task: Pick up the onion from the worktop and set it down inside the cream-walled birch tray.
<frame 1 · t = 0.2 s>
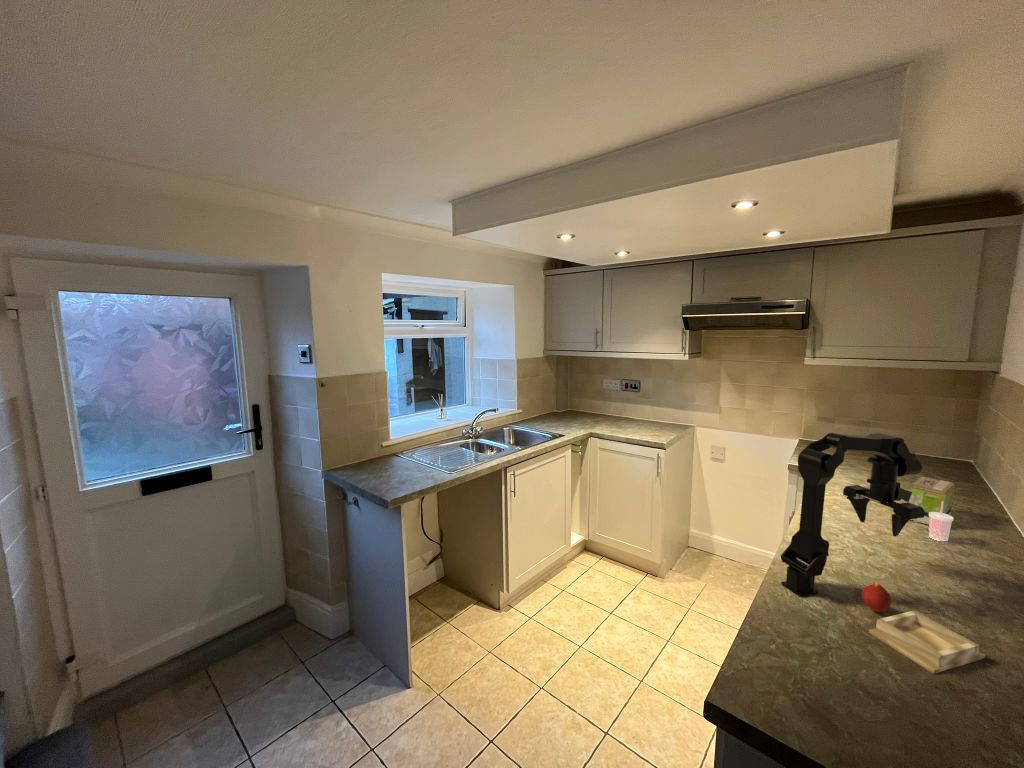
hand: (878, 528, 126), 14 cm above the table, fingers open, 9 cm apart
tea box: (928, 520, 164), on the table
onion: (875, 611, 111), on the table
tray: (924, 644, 99), on the table
beverage cup: (937, 540, 148), on the table
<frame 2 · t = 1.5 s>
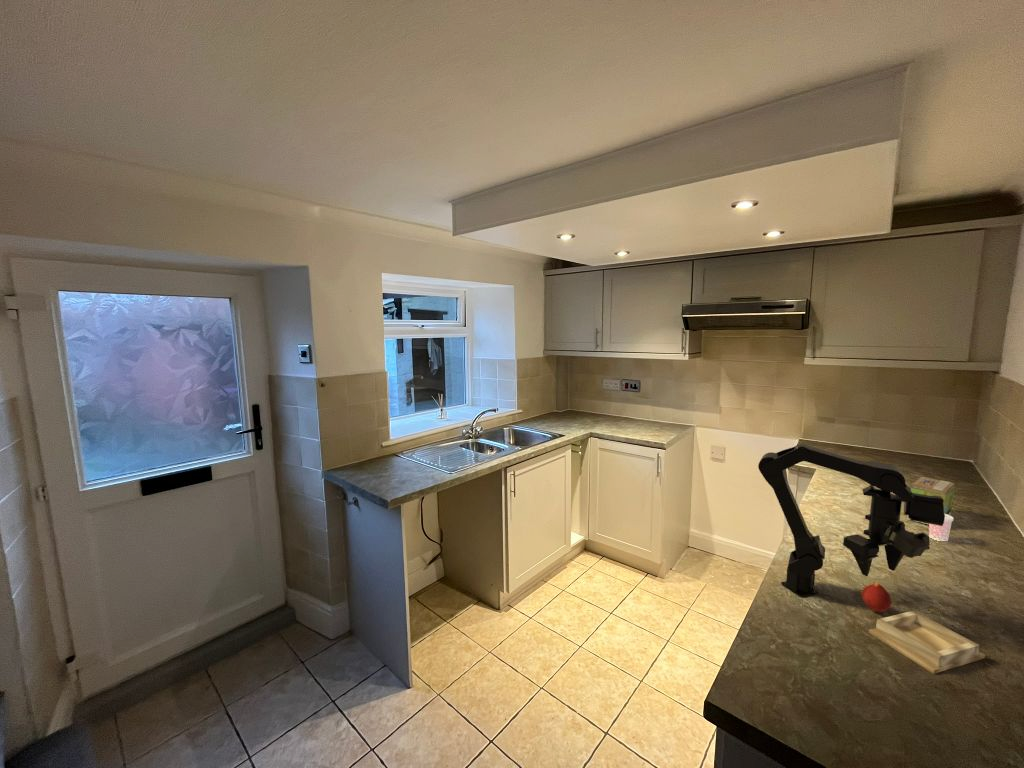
hand: (878, 572, 110), 11 cm above the table, fingers open, 9 cm apart
nothing on the table moved.
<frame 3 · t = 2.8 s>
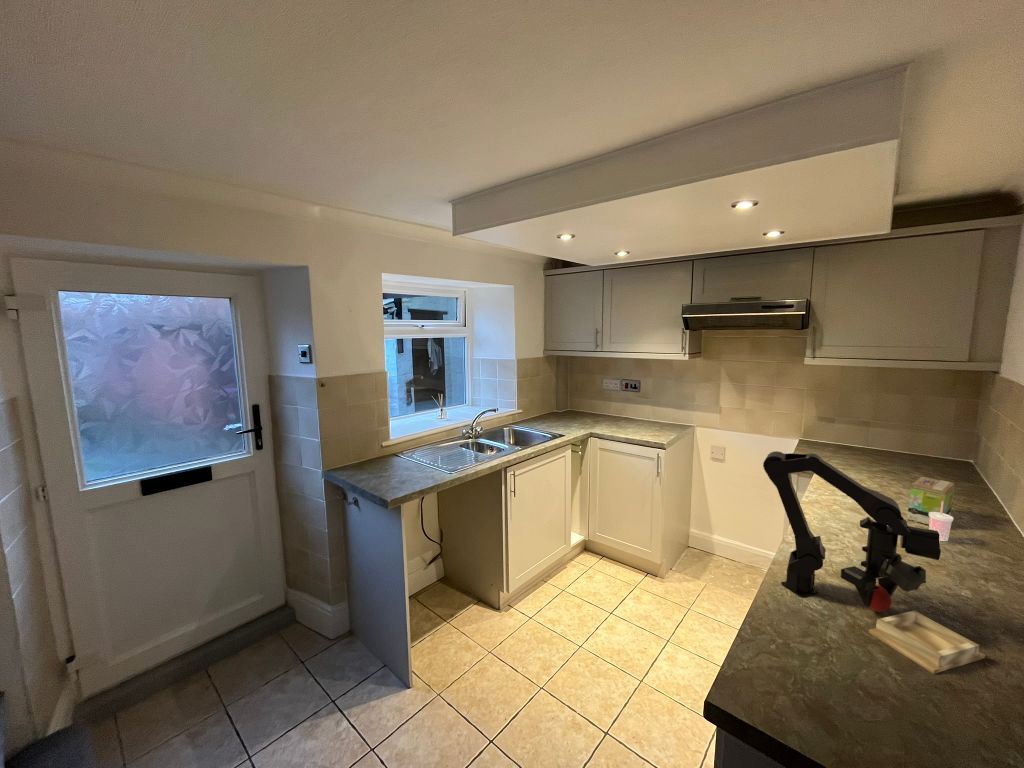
hand: (875, 603, 111), 2 cm above the table, fingers closed on onion, 6 cm apart
onion: (875, 611, 111), on the table, touching gripper
everything else where it was.
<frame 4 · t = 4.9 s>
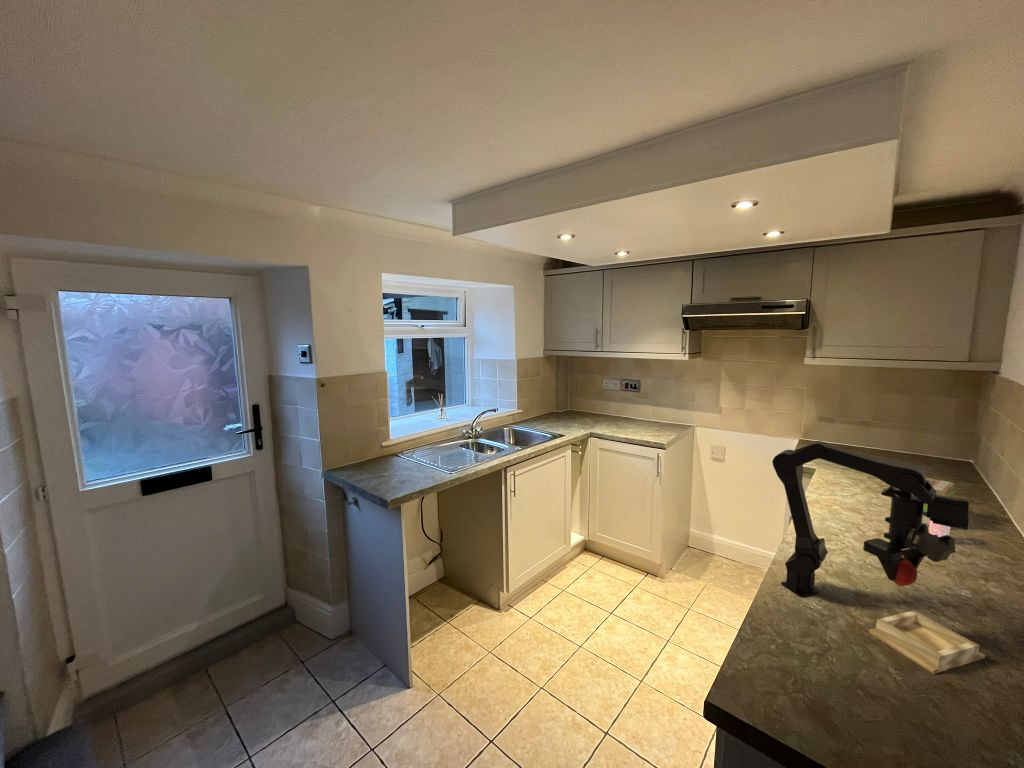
hand: (900, 577, 105), 12 cm above the table, fingers closed on onion, 6 cm apart
onion: (899, 586, 105), point 10 cm above the table, touching gripper
everything else where it was.
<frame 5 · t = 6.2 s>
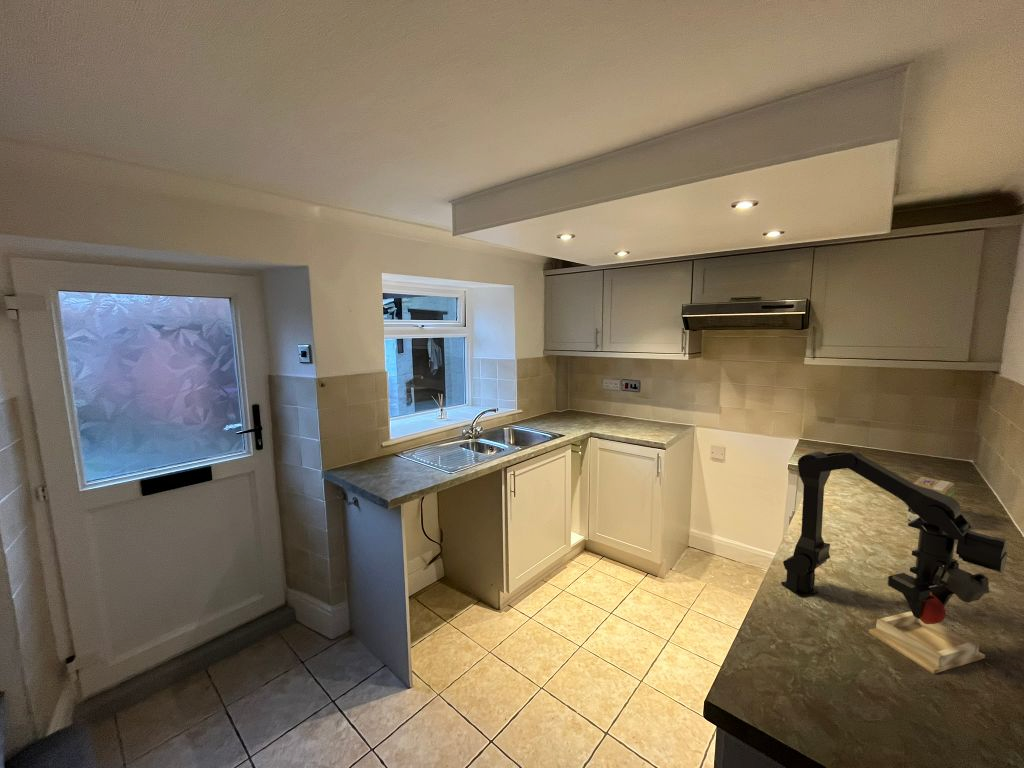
hand: (926, 615, 99), 7 cm above the table, fingers closed on onion, 6 cm apart
onion: (925, 624, 99), point 5 cm above the table, touching gripper
everything else where it was.
when the fingers open (4 cm above the table, at t = 7.2 s): onion drops 1 cm, resting on tray.
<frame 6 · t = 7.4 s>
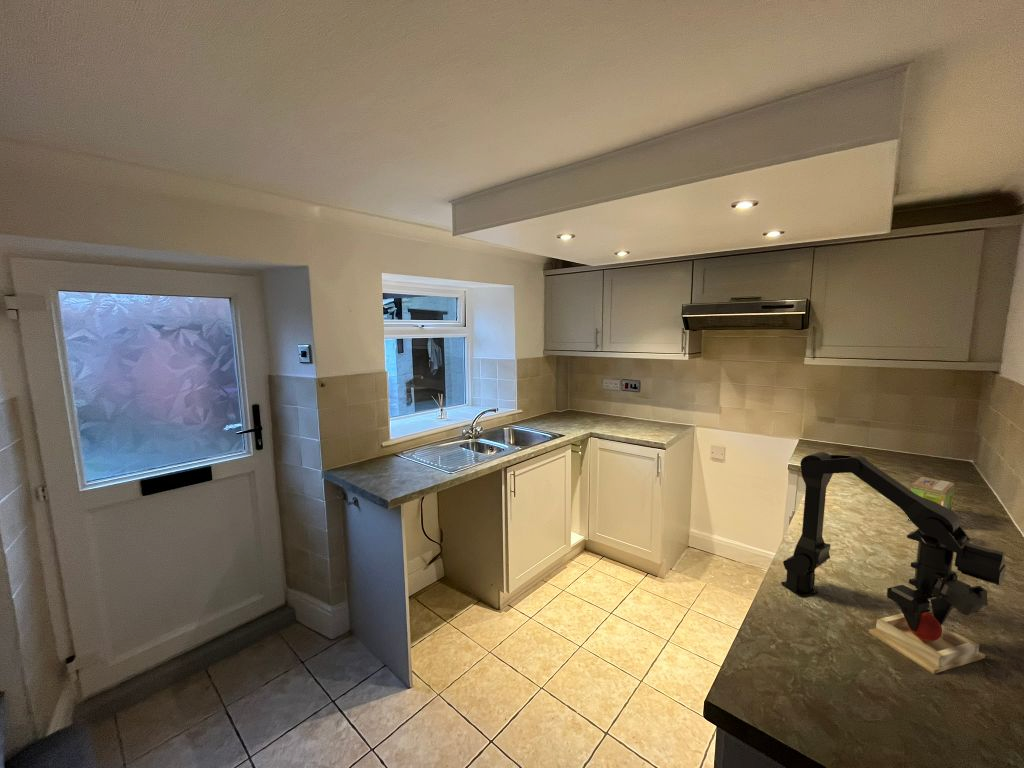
hand: (926, 627, 99), 4 cm above the table, fingers open, 8 cm apart
onion: (924, 642, 99), point 1 cm above the table, touching tray
everything else where it was.
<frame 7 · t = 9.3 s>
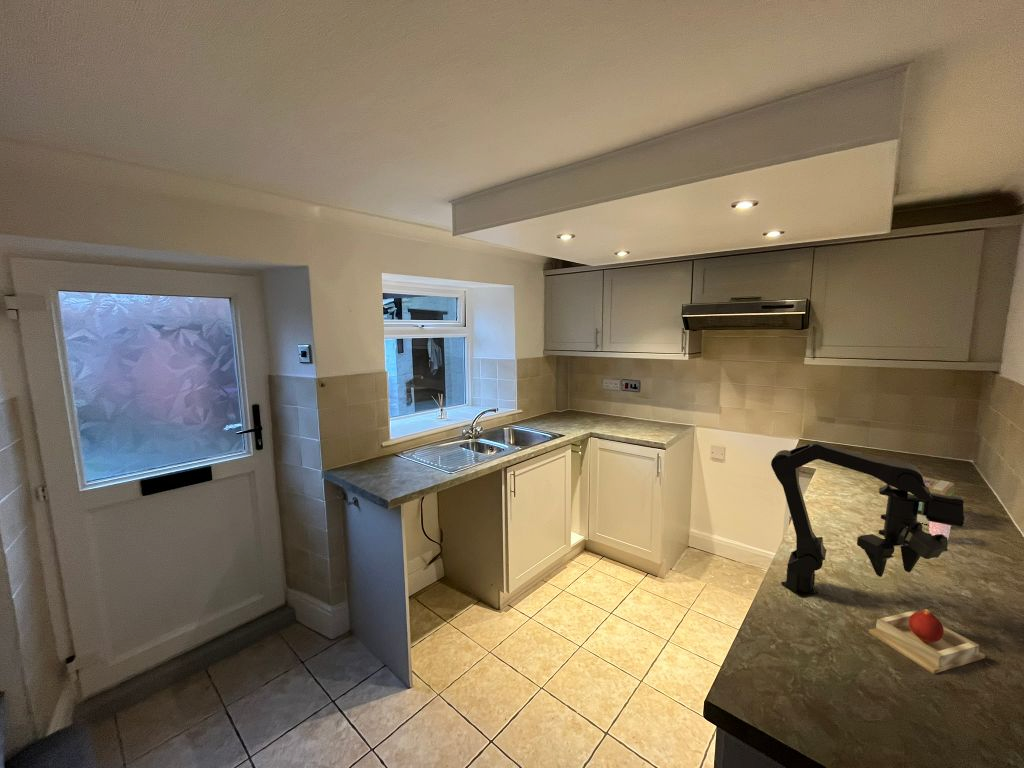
hand: (893, 573, 108), 12 cm above the table, fingers open, 9 cm apart
nothing on the table moved.
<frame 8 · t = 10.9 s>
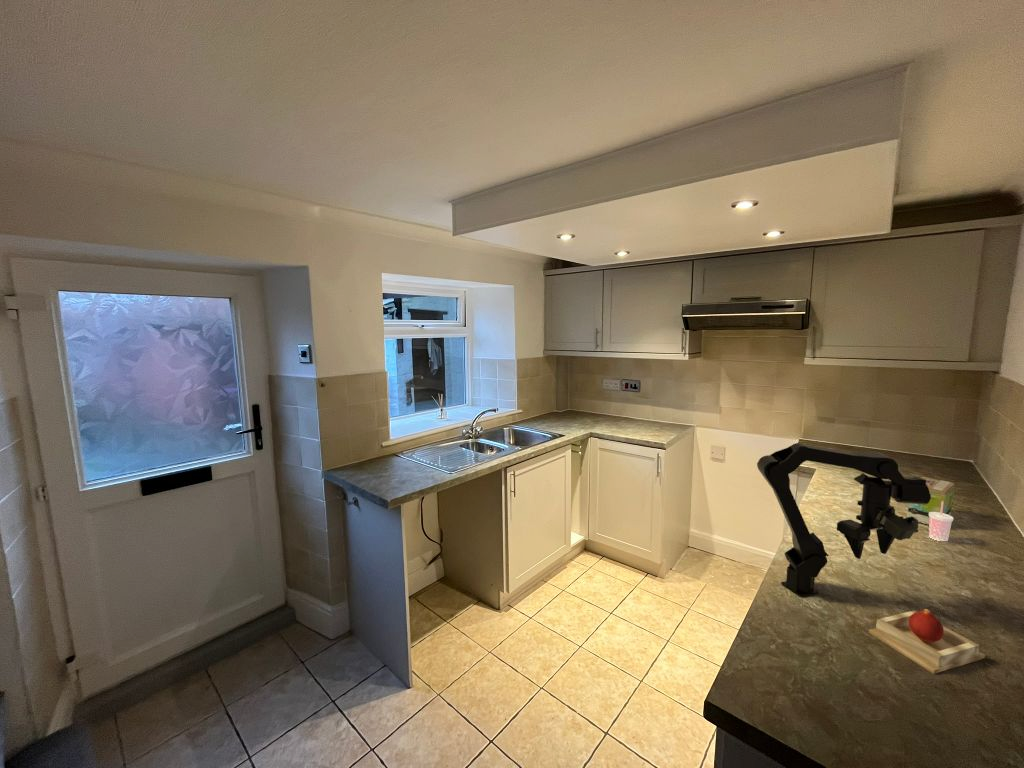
hand: (870, 555, 116), 12 cm above the table, fingers open, 9 cm apart
nothing on the table moved.
at the end: onion 0.1 cm off-centre on the tray, point 0.6 cm above the tray's base; the gripper is holding nothing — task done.
